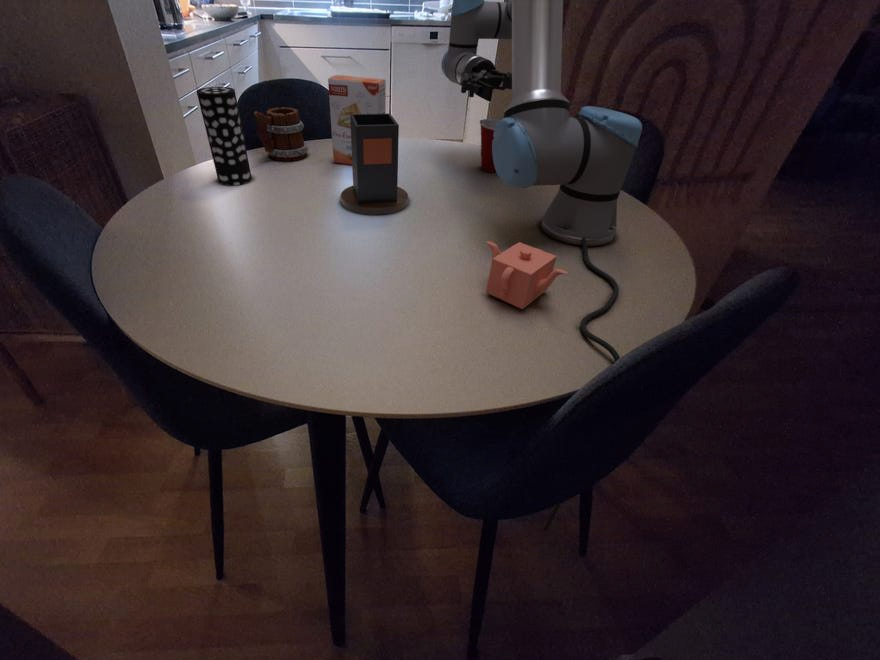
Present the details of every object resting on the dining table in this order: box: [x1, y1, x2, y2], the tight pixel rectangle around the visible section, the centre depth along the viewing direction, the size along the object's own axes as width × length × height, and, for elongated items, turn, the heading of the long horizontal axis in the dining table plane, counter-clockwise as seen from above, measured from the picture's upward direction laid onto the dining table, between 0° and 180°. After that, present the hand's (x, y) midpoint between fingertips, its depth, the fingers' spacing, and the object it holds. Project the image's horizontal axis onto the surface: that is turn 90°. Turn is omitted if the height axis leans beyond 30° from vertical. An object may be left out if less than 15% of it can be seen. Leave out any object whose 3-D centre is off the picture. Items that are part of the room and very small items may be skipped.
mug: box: [253, 106, 309, 162], centre depth 123 cm, size 12×14×15 cm
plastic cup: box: [479, 118, 501, 173], centre depth 120 cm, size 11×11×12 cm
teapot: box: [485, 240, 569, 310], centre depth 72 cm, size 12×15×8 cm
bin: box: [350, 113, 400, 203], centre depth 98 cm, size 9×10×16 cm
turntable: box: [340, 185, 409, 216], centre depth 104 cm, size 16×16×2 cm
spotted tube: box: [195, 86, 253, 186], centre depth 106 cm, size 8×8×20 cm
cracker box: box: [327, 74, 387, 166], centre depth 118 cm, size 14×6×21 cm, turn 73°
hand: (518, 93), depth 95 cm, fingers open, 13 cm apart
